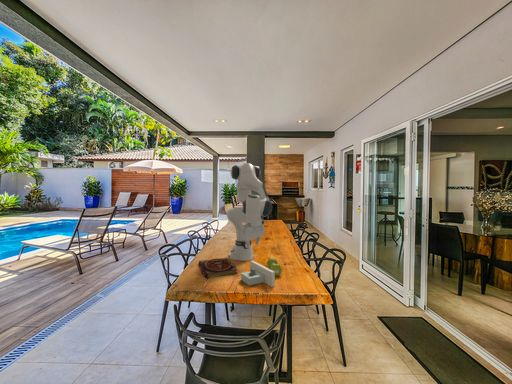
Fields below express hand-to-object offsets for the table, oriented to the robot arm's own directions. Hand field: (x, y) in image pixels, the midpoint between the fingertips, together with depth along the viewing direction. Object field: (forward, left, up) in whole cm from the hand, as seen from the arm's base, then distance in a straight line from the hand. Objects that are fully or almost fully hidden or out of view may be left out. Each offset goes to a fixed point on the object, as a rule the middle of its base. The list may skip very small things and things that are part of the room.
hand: (252, 246), depth 147 cm
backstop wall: (0, +6, -21) cm, 22 cm away
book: (-31, -9, -22) cm, 39 cm away
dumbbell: (-7, +20, -21) cm, 30 cm away
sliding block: (0, 0, -21) cm, 21 cm away
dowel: (0, 0, -21) cm, 21 cm away
